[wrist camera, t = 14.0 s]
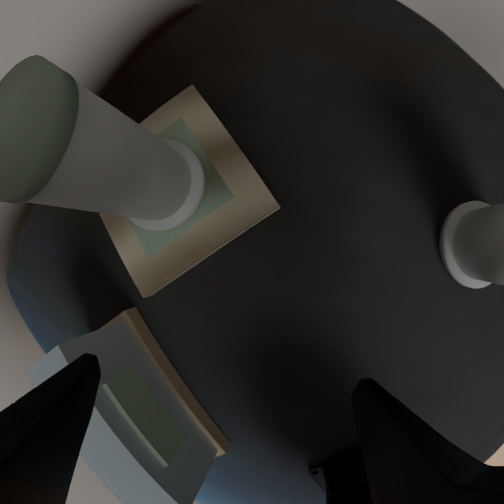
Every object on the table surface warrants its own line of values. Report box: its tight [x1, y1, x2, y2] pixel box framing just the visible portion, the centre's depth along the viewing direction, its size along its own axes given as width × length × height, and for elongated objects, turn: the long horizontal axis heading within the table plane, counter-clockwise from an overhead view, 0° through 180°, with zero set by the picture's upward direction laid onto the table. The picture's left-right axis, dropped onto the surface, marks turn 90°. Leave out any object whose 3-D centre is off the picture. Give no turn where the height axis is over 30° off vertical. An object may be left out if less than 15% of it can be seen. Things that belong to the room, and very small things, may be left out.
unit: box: [26, 307, 230, 504], centre depth 17 cm, size 13×6×8 cm, turn 33°
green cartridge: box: [0, 55, 206, 231], centre depth 13 cm, size 6×6×13 cm
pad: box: [99, 84, 280, 298], centre depth 20 cm, size 11×11×1 cm
